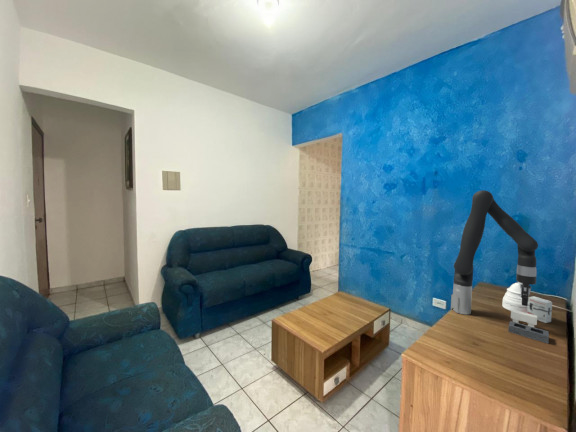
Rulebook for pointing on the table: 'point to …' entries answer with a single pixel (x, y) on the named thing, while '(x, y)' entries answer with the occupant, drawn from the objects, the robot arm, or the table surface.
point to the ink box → (540, 308)
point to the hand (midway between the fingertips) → (525, 303)
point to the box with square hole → (529, 332)
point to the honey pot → (514, 299)
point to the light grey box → (524, 317)
